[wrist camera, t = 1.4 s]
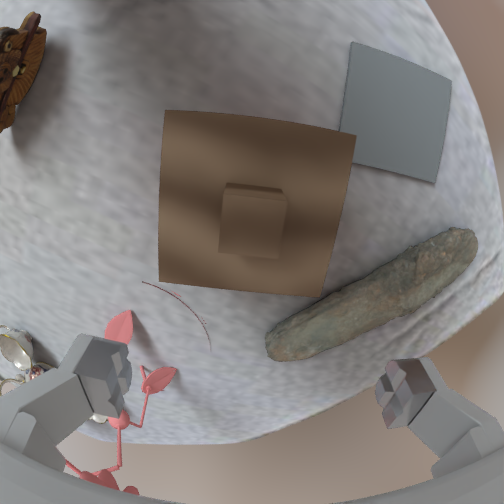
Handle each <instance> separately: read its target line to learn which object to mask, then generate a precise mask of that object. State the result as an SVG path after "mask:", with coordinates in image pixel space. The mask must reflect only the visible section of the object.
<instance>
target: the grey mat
mask: <svg viewBox="0 0 504 504" xmlns="http://www.w3.org/2000/svg"><path fill="white" fill-rule="evenodd" d="M451 84H452V81H451V80H449V79H447V78H445V77H443V76H441V75H439V74H437V73H435V72H433V71H430V70H428V69H426V68H424V67H422V66H419V65H417V64H414V63H412V62H410V61H407V60H405V59H402V58H400V57H397V56H394V55H392V54H389V53H386V52H383V51H380V50H378V49H375V48H372V47H369V46H365V45H362V44H359V43H356V42H351V47H350V56H349V64H348V72H347V80H346V87H345V94H344V101H343V108H342V114H341V121H340V127H339V131H340V132H345V133H349V134H353V135H357V138H356V144H355V149H354V155H353V160H352V162H353V163H357V164H362V165H366V166H371V167H375V168H379V169H384V170H388V171H392V172H396V173H400V174H403V175H407V176H411V177H415V178H418V179H422V180H425V181H429V182H432V183H435V181H436V176H437V172H438V168H439V163H440V158H441V153H442V148H443V142H444V137H445V131H446V124H447V118H448V111H449V103H450V94H451Z"/></svg>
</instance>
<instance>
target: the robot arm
mask: <svg viewBox="0 0 504 504" xmlns="http://www.w3.org/2000/svg"><path fill="white" fill-rule="evenodd" d="M128 353H129V351H128V347H127V344H125V343H122V342H118V341H113V340H109V339H104V338H100V337H94V336H90V335H86V334H82V333H81V334H80V335H78V336H77V338H76V339H75V341H74V342H73V344H72V346H71V347H70V349H69V351H68V352H67V354H66V355H65V357H64V359H63V361H62V362H61V364H60V366H59V367H58V369H57V368H52V369H50V370H49V371H47V372H45V373H43V374H41V375H39V376H37V377H36V378H34V379H32V380H30V381H28V382H26V383H24V384H22V385H21V386H19V387H17V388H15V389H14V390H11V391H10V392H8V393H6V394H4V395H2V396H0V504H184V503H177V502H171V501H165V500H158V499H153V498H149V497H144V496H140V495H135V494H131V493H127V492H123V491H119V490H116V489H112V488H108V487H105V486H102V485H99V484H95V483H92V482H89V481H86V480H83V479H80V478H77V477H75V476H72V475H70V474H67V473H64V472H63V471H64V467H65V465H66V462H67V461H66V459H65V457H64V456H63V455H62V454H61V452H60V451H59V450H58V449H57V447H56V445H57V444H59V443H60V442H61V441H62V440H64V439H65V438H66V437H67V436H69V435H70V434H71V433H72V432H73V431H75V430H76V429H77V428H78V427H79V426H81V425H82V424H83V423H84V422H86V421H87V420H88V419H89V418H90V417H92V416H93V415H94V413H96V414H100V415H104V416H108V417H112V418H117V419H119V418H120V415H121V412H122V409H123V406H124V403H125V402H124V398H123V395H124V394H125V393H127V392H128V391H129V388H130V385H131V379H132V367H131V363H130V362H129V361H128V359H127V356H128ZM385 371H386V373H385V374H384V375H383V376H381V377H380V378H379V380H378V382H377V384H376V390H375V395H376V400H377V402H378V404H379V405H380V406H381V407H383V408H384V409H383V412H382V415H383V418H384V421H385V424H386V426H387V429H392V428H398V427H404V426H408V428H409V429H410V430H411V431H412V432H413V433H414V434H415V435H416V436H417V437H418V438H419V439H420V440H422V442H424V444H426V445H427V446H428V447H429V448H430V449H431V450H432V451H433V452H434V453H435V454H436V455H437V456H438V457H439V458H440V460H439V461H438V462H436V463H435V464H434V465H433V466H432V468H431V472H432V475H433V478H434V479H432V480H428V481H426V482H422V483H419V484H416V485H413V486H410V487H406V488H403V489H399V490H396V491H392V492H388V493H384V494H380V495H375V496H371V497H367V498H361V499H357V500H350V501H345V502H338V503H332V504H504V431H503V430H502V428H501V426H500V424H499V423H498V421H497V419H496V418H495V417H493V416H492V415H490V414H489V413H487V412H486V411H484V410H483V409H481V408H480V407H478V406H477V405H475V404H474V403H472V402H471V401H469V400H468V399H466V398H465V397H463V396H462V395H460V394H459V393H457V392H456V391H454V390H453V389H448V387H447V385H446V384H445V382H444V380H443V378H442V377H441V375H440V373H439V372H438V370H437V369H436V367H435V366H434V364H433V362H432V360H431V359H429V358H428V357H423V358H415V359H414V358H413V359H400V360H391V361H390V362H389V363H388V364H387V366H386V367H385Z"/></svg>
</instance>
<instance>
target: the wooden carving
mask: <svg viewBox="0 0 504 504" xmlns="http://www.w3.org/2000/svg"><path fill="white" fill-rule="evenodd" d="M40 19H41V15H40V14H36V13H35V12H31V13H29V14H28V15H27V16H26V17H25V19H24V21H23V23H22V25H21V27H20V28H19V29H13V28H9V27H1V28H0V133H1V132H2V131H3V129H6V128H8V127H10V126H11V125H12V123H13V121H14V118H15V109H16V106H15V105H18V104H19V103H20V102H21V101H22V99H23V98H24V97H25V95H26V94H27V92H28V90H29V88H30V87H31V84H32V83H33V81H34V78H35V76H36V74H37V71H38V69H39V66H40V63H41V60H42V58H43V53H44V49H45V43H46V34H47V32H46V29H43V28H41V27H38V25H39V23H40Z"/></svg>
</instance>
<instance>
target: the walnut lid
mask: <svg viewBox="0 0 504 504" xmlns="http://www.w3.org/2000/svg"><path fill="white" fill-rule="evenodd" d="M356 138H357V135H353V134H349V133H345V132H340V131H335V130H331V129H326V128H321V127H316V126H311V125H305V124H299V123H294V122H288V121H281V120H275V119H267V118H260V117H252V116H244V115H234V114H224V113H212V112H198V111H180V110H165V116H164V127H163V138H162V152H161V167H160V188H159V225H158V259H159V282H166V283H175V284H183V285H192V286H200V287H209V288H219V289H228V290H238V291H248V292H259V293H270V294H282V295H294V296H306V297H319V298H320V295H321V291H322V288H323V284H324V281H325V277H326V273H327V269H328V266H329V262H330V258H331V254H332V250H333V246H334V242H335V238H336V234H337V230H338V226H339V221H340V217H341V213H342V208H343V204H344V199H345V195H346V190H347V185H348V180H349V175H350V170H351V165H352V160H353V155H354V149H355V144H356Z"/></svg>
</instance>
